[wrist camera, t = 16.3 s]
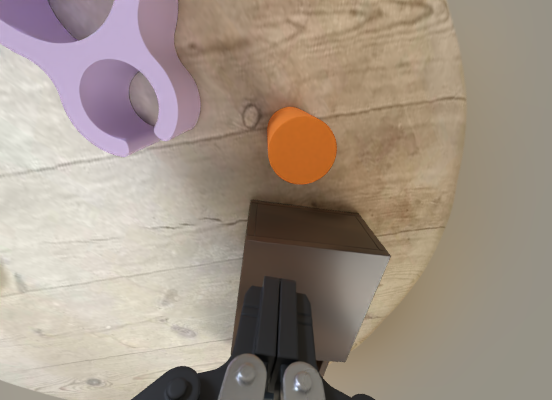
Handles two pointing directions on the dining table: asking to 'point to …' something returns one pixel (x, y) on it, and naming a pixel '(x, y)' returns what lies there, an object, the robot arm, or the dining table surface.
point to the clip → (109, 69)
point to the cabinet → (316, 267)
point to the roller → (299, 146)
